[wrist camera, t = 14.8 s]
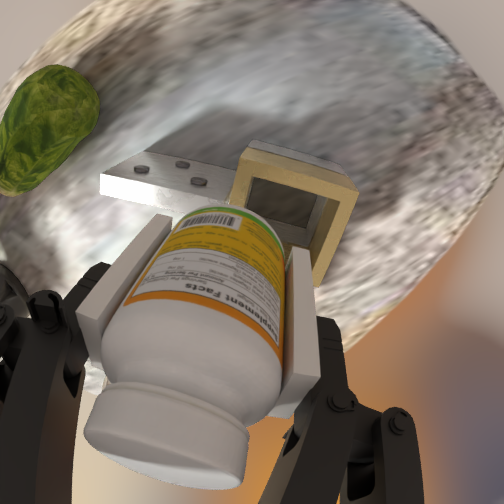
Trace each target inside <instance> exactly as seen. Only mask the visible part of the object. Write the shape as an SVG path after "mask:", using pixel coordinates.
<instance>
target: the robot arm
mask: <svg viewBox="0 0 504 504" xmlns="http://www.w3.org/2000/svg"><path fill="white" fill-rule="evenodd" d="M171 228H172V217H169V216H165V215H161V214H156V215H155V216H154V217H153V218H152V220H151V221H150V222H149V223H148V224H147V225H146V226H145V227H144V228H143V229H142V231H141V232H140V233H139V234H138V235H137V236H136V237H135V238H134V240H133V241H132V242H131V243H130V244H129V245H128V246H127V248H126V249H125V250H124V251H123V252H122V253H121V255H120V256H119V257H118V258H117V259H116V261H115V262H114V263H113V264H112V265H110V264H106V263H103V262H100V263H98V264H96V265H94V266H93V267H91V268H90V269H89V270H88V271H87V272H86V273H85V274H84V276H83V278H81V279H80V280H79V281H78V283H77V285H75V286H74V287H73V288H72V290H71V291H70V292H69V293H68V294H67V296H66V297H65V298H64V299H63V300H62V297H61V296H60V295H59V294H58V293H57V292H54V291H51V290H42V291H39V292H36V293H34V294H33V295H31V296H30V297H28V295H27V293H26V291H25V289H24V288H23V286H22V285H21V283H20V282H19V281H18V279H17V278H16V277H15V276H14V275H13V274H12V272H10V271H9V270H8V269H7V268H6V267H4V266H3V265H0V358H1V356H2V358H3V360H2V361H1V362H0V504H72V503H71V502H72V501H71V500H72V473H73V457H74V446H75V438H76V430H77V422H78V415H79V408H80V402H81V396H82V390H83V385H84V380H85V367H84V364H85V362H86V361H87V359H88V357H89V359H90V362H91V365H92V366H94V367H96V368H98V369H101V370H103V371H104V369H103V366H102V363H101V355H100V347H101V341H102V337H103V335H104V332H105V330H106V328H107V326H108V325H109V323H110V321H111V319H112V318H113V316H114V314H115V313H116V311H117V309H118V308H119V306H120V305H121V303H122V302H123V300H124V299H125V297H126V296H127V294H128V293H129V291H130V289H131V288H132V286H133V285H134V283H135V282H136V280H137V279H138V277H139V276H140V275H141V273H142V272H143V270H144V269H145V267H146V266H147V264H148V263H149V261H150V260H151V258H152V257H153V256H154V254H155V253H156V251H157V250H158V248H159V247H160V246H161V244H162V243H163V241H164V240H165V239H166V237H167V236H168V235H169V233H170V232H171ZM29 315H31V318H27V317H28V316H29ZM341 342H342V339H341V332H340V329H339V327H338V326H337V324H336V322H335V321H334V319H330V318H325V317H320V316H316V309H315V298H314V288H313V279H312V269H311V261H310V252H309V250H306V249H302V248H298V247H294V246H293V247H292V250H291V253H290V256H289V259H288V262H287V265H286V268H285V303H284V343H283V368H282V382H281V390H280V395H279V398H278V400H277V403H276V405H275V406H274V408H273V409H272V410H271V411H270V413H269V414H268V415H267V416H272V417H279V418H286V419H289V418H290V417H291V416H292V414H293V413H294V424H293V425H292V426H291V428H290V429H289V430H288V431H287V432H286V433H285V435H284V436H283V438H284V439H286V440H285V442H284V445H283V447H282V450H281V452H280V455H279V457H278V459H277V462H276V464H275V467H274V469H273V471H272V474H271V476H270V478H269V480H268V483H267V485H266V487H265V489H264V491H263V494H262V496H261V498H260V500H259V502H258V504H336V503H337V500H338V496H339V493H340V504H424V492H423V481H422V470H421V462H420V454H419V447H418V441H417V434H416V428H415V424H414V421H413V418H412V417H411V415H410V414H409V413H408V412H407V411H405V410H404V409H402V408H398V407H392V408H389V409H387V410H386V411H384V412H383V413H381V412H379V411H376V410H373V409H371V408H368V407H365V406H364V405H362V404H360V403H359V402H358V400H357V398H356V395H355V394H354V393H353V392H352V391H351V390H350V389H349V388H348V383H347V374H346V367H345V359H344V353H343V345H342V343H341Z"/></svg>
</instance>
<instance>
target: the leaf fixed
mask: <svg viewBox="0 0 504 504" xmlns="http://www.w3.org/2000/svg"><path fill="white" fill-rule="evenodd" d="M247 147H248V148H252V149H256V150H260V151H264V152H268V153H272V154H275V155H279V156H283V157H286V158H290V159H293V160H297V161H300V162H303V163H307V164H310V165H313V166H317V167H320V168H323V169H326V170H329V171H332V172H335V173H338V174H341V175H344V176H348V175H347V174H346V173H345V171H344V170H343V168H342V167H341V166H340V165H339V164H336V163H333V162H330V161H327V160H324V159H321V158H318V157H315V156H311V155H308V154H305V153H301V152H298V151H295V150H291V149H288V148H284V147H280V146H277V145H273V144H269V143H266V142H262V141H258V140H254V139H252V140H251V142H250V143H249V145H248V146H247ZM235 175H236V170H232V169H227V168H223V167H219V166H215V165H210V164H206V163H201V162H197V161H192V160H188V159H183V158H178V157H173V156H168V155H163V154H158V153H152V152H147V151H142V152H140V153H138V154H136V155H134V156H132V157H130V158H129V159H127V160H125V161H123V162H121V163H119V164H117V165H115V166H114V167H112V168H110V169H108V170H106V171H105V172H103V173H101V177H100V193H101V194H105V195H109V196H114V197H118V198H122V199H126V200H130V201H135V202H139V203H143V204H147V205H151V206H155V207H159V208H163V209H167V210H172V211H176V212H180V213H184V214H188V213H189V212H191V211H193V210H195V209H197V208H199V207H202V206H206V205H211V204H228V203H229V202H230V197H231V193H232V188H233V184H234V180H235ZM253 181H254V176H253V179H252V183H251V187H250V191H249V195H248V199H247V203H246V207H245V209H246V208H247V204H248V200H249V196H250V192H251V188H252V184H253ZM327 199H328V197H324V196H321V195H318V196H317V199H316V201H315V204H314V207H313V210H312V213H311V215H310V218H309V221H308V224H307V226H306V229H305V228H301V227H298V226H294V225H291V224H287V223H283V222H280V221H276V220H272V219H269V218H265V217H261V216H260V217H261V218H263V219H264V220H265V221H266V222H267V223H268V224H269V225H270V226H271V227H272V228H273V230H274V231H275V232H276V234H277V236H278V237H279V239H280V242H282V243H286V244H290V245H293V246H297V247H301V248H304V249H309V247H310V244H311V241H312V239H313V236H314V234H315V231H316V228H317V226H318V223H319V221H320V218H321V215H322V213H323V210H324V207H325V204H326V202H327Z"/></svg>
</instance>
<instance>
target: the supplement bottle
mask: <svg viewBox="0 0 504 504" xmlns="http://www.w3.org/2000/svg"><path fill="white" fill-rule="evenodd" d="M284 303H285V257H284V251H283V247H282V244H281V242H280V239H279V237H278V236H277V234H276V232H275V231H274V230H273V228H272V227H271V226H270V225H269V224H268V223H267V222H266V221H265V220H264V219H263V218H261V217H260V216H259V215H257V214H256V213H254V212H252V211H250V210H248V209H245V208H242V207H239V206H235V205H230V204H211V205H206V206H202V207H199V208H197V209H195V210H193V211H191V212H189V213H188V214H187V215H185V216H184V217H183V218H182V219H181V220H180V221H179V222H178V223H177V224H176V225H175V227H174V228H173V229H172V230H171V232H170V233H169V235H168V236H167V237H166V239H165V240H164V241H163V243H162V244H161V246H160V247H159V248H158V250H157V251H156V253H155V254H154V256H153V257H152V258H151V260H150V261H149V263H148V264H147V266H146V267H145V269H144V270H143V272H142V273H141V275H140V276H139V277H138V279H137V280H136V282H135V283H134V285H133V286H132V288H131V289H130V291H129V293H128V294H127V296H126V297H125V299H124V300H123V302H122V303H121V305H120V306H119V308H118V309H117V311H116V313H115V314H114V316H113V318H112V319H111V321H110V323H109V325H108V326H107V328H106V330H105V332H104V335H103V337H102V341H101V347H100V355H101V363H102V366H103V369H104V372H105V374H106V376H107V378H108V380H109V381H110V383H111V384H109V385H107V386H106V387H105V388H104V389H103V390H102V393H101V394H99V395H98V397H97V398H96V401H95V403H94V406H93V409H92V411H91V414H90V416H89V418H88V420H87V423H86V425H85V428H84V437H85V439H86V440H87V441H88V443H90V445H92V447H94V448H95V449H96V450H98V451H99V452H100V453H101V454H103V455H105V456H106V457H108V458H109V459H111V460H113V461H115V462H116V463H119V464H120V465H122V466H124V467H126V468H128V469H130V470H132V471H135V472H138V473H140V474H143V475H145V476H148V477H151V478H154V479H157V480H160V481H164V482H168V483H171V484H175V485H179V486H185V487H191V488H198V489H212V490H213V489H214V490H218V489H219V490H220V489H230V488H235V487H238V486H239V485H240V484H241V483H242V482H243V479H244V473H245V467H246V460H247V452H248V442H249V437H250V436H249V432H248V430H247V429H246V427H249V426H251V425H253V424H255V423H257V422H259V421H260V420H262V419H263V418H264V417H265V416H266V415H268V414H269V413H270V411H271V410H272V409H273V408H274V406H275V405H276V403H277V400H278V398H279V395H280V390H281V382H282V368H283V343H284Z"/></svg>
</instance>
